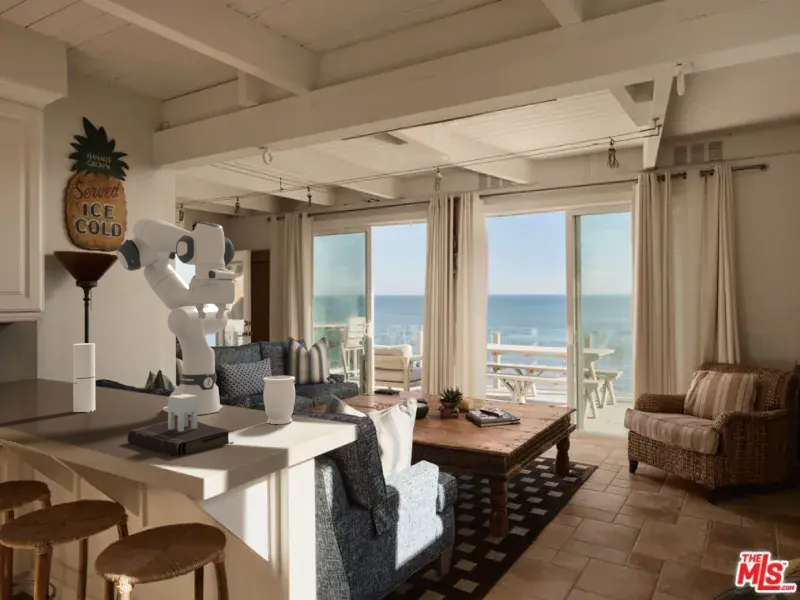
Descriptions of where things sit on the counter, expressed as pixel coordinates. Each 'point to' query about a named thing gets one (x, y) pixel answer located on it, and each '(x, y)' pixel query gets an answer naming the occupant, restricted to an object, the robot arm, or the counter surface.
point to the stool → (182, 410)
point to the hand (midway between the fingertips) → (210, 318)
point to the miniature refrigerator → (84, 377)
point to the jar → (279, 398)
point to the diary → (178, 437)
